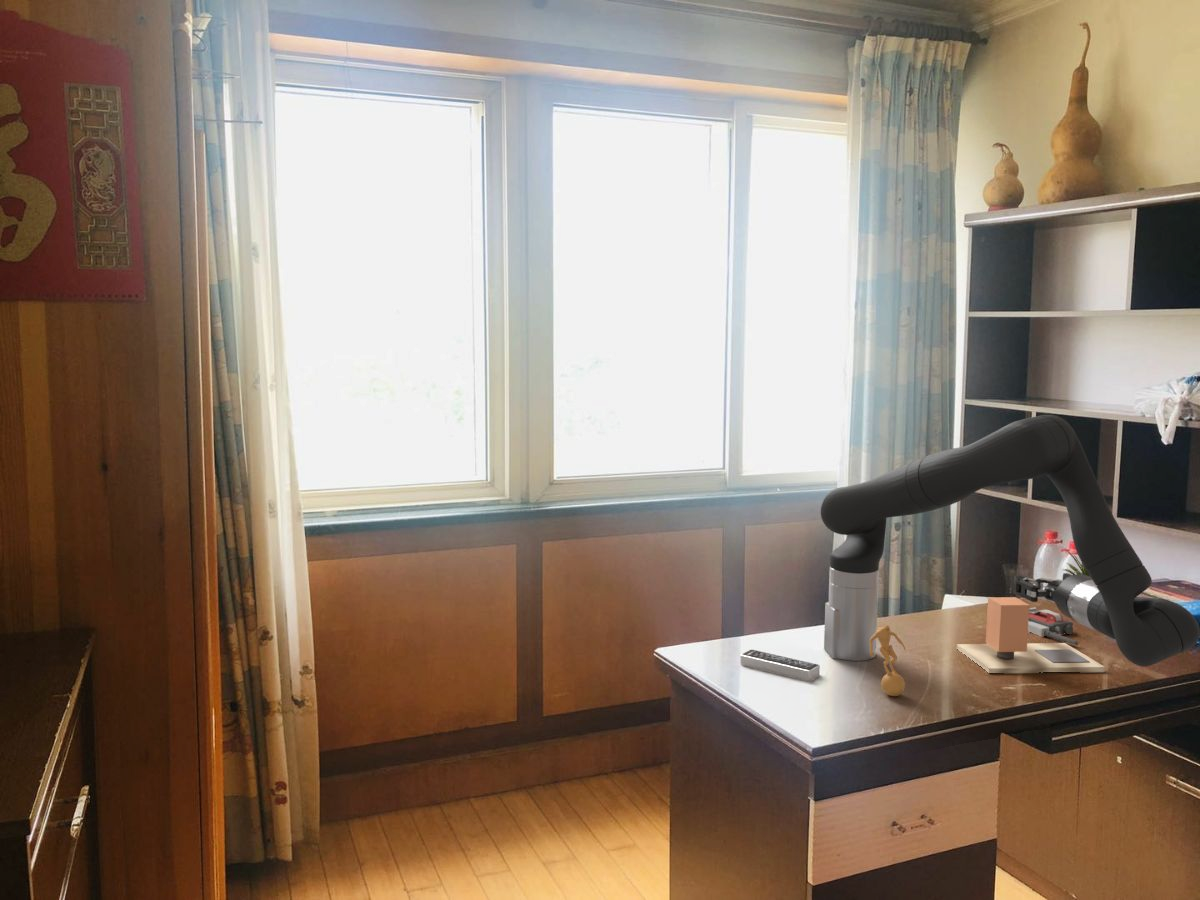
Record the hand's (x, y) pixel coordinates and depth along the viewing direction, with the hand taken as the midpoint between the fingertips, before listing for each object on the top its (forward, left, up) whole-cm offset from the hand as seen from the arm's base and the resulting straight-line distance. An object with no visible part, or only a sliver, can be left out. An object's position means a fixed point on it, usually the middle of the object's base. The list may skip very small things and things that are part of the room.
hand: (1040, 579), depth 167 cm
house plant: (+36, +43, -19) cm, 59 cm away
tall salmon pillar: (0, +11, -16) cm, 20 cm away
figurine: (-28, -4, -19) cm, 34 cm away
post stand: (+5, +12, -19) cm, 23 cm away
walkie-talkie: (+18, +30, -20) cm, 40 cm away
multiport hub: (-44, +9, -20) cm, 49 cm away
